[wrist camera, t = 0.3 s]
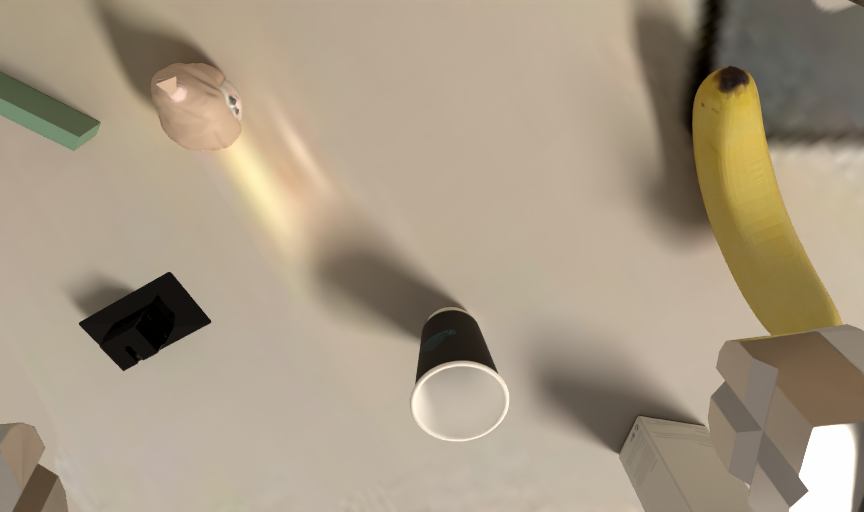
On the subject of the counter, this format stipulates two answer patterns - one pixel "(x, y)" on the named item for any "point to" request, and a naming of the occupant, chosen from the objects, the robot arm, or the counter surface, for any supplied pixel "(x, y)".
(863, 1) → the cup
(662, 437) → the skincare box
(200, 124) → the garlic bulb
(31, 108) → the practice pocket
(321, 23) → the counter surface
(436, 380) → the dixie cup
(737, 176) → the banana
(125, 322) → the build plate
